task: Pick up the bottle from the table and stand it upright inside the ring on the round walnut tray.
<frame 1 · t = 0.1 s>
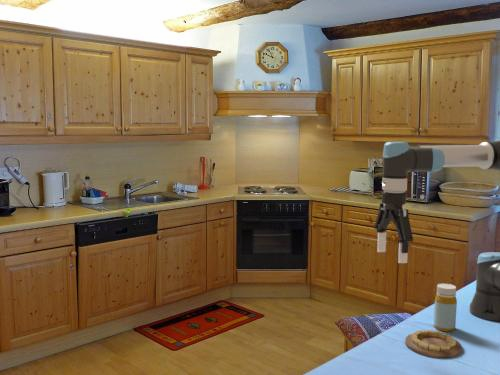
hand: (391, 257, 168), 28 cm above the table, tool pointing down, fingers open, 13 cm apart
ring tray: (433, 345, 168), on the table
bottle: (444, 328, 182), on the table
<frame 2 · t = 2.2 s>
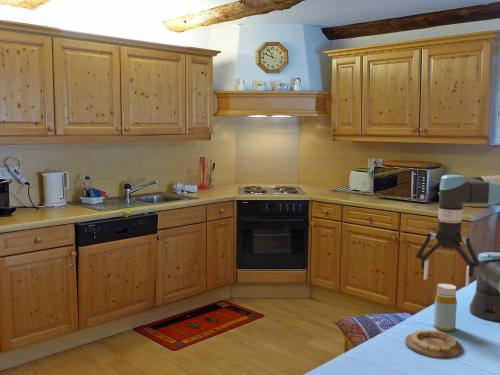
hand: (445, 282, 180), 16 cm above the table, tool pointing down, fingers open, 13 cm apart
nothing on the table moved.
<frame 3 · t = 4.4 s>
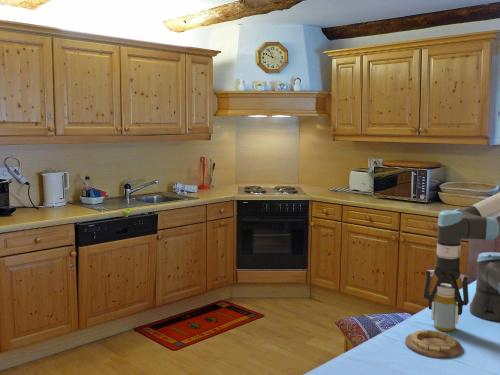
hand: (444, 320, 182), 3 cm above the table, tool pointing down, fingers closed on bottle, 7 cm apart
bottle: (444, 328, 182), on the table, touching gripper
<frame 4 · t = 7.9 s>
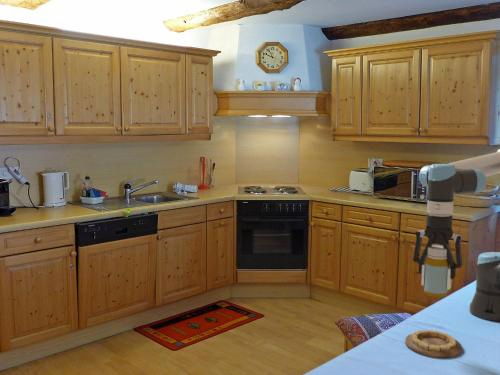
hand: (436, 286, 165), 20 cm above the table, tool pointing down, fingers closed on bottle, 7 cm apart
bottle: (435, 294, 166), point 17 cm above the table, touching gripper
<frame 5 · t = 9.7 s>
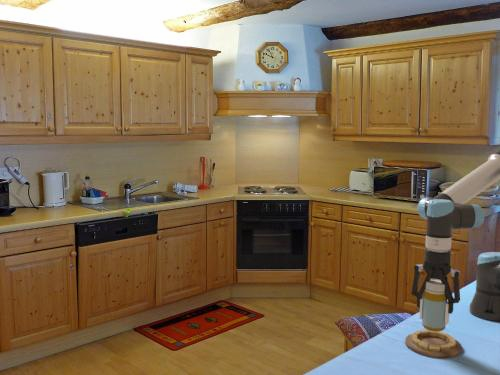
hand: (434, 320, 167), 9 cm above the table, tool pointing down, fingers closed on bottle, 7 cm apart
bottle: (433, 328, 167), point 6 cm above the table, touching gripper
when the fingers open (5 cm above the table, at t = 11.3 s): bottle drops 1 cm, resting on ring tray.
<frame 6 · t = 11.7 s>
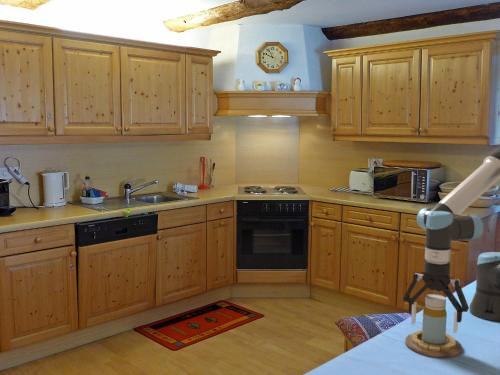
hand: (433, 327, 167), 6 cm above the table, tool pointing down, fingers open, 12 cm apart
bottle: (433, 343, 168), point 1 cm above the table, touching ring tray
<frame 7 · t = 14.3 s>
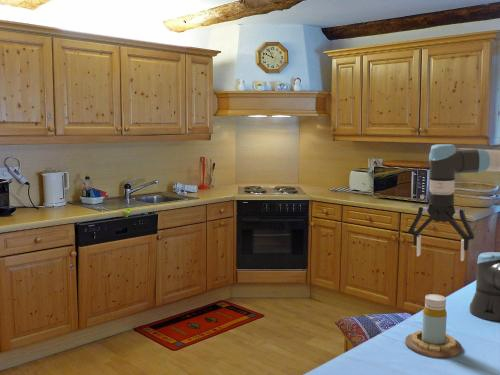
hand: (440, 257, 171), 27 cm above the table, tool pointing down, fingers open, 13 cm apart
nothing on the table moved.
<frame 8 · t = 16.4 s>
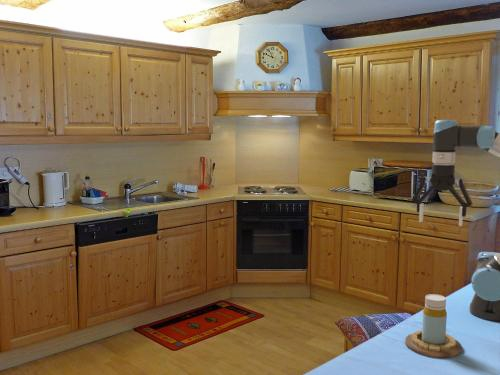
hand: (440, 223, 188), 35 cm above the table, tool pointing down, fingers open, 13 cm apart
nothing on the table moved.
at the end: bottle 0.1 cm off-centre on the ring tray, point 0.8 cm above the ring tray's base; bottle tilted 0°; the gripper is holding nothing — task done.
